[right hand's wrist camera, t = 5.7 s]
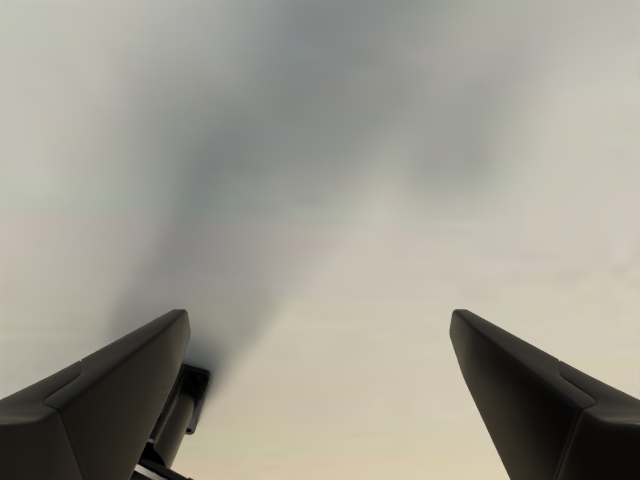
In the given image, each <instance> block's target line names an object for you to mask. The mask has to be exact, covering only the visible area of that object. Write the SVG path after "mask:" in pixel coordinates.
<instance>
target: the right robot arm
mask: <svg viewBox="0 0 640 480" xmlns="http://www.w3.org/2000/svg"><path fill="white" fill-rule="evenodd" d="M189 338H190V324H189V318H188V313H187V311H186V310H184V309H175V310H172V311H170V312H168V313H166V314H164V315H163V316H161V317H159V318H157V319H155V320H153V321H151V322H150V323H148V324H146V325H144V326H142V327H140V328H139V329H137V330H135V331H133V332H131V333H129V334H127V335H126V336H124V337H122V338H120V339H118V340H116V341H115V342H113V343H111V344H109V345H107V346H105V347H104V348H102V349H100V350H98V351H96V352H94V353H92V354H91V355H89V356H87V357H85V358H83V359H82V360H81V361H78V362H76V363H74V364H72V365H70V366H68V367H66V368H65V369H63V370H61V371H59V372H57V373H55V374H53V375H51V376H49V377H47V378H45V379H43V380H41V381H39V382H37V383H35V384H33V385H31V386H29V387H27V388H25V389H22V390H20V391H18V392H16V393H14V394H12V395H10V396H8V397H6V398H4V399H1V400H0V480H193V479H191V478H186V477H184V476H182V475H180V474H178V473H177V472H175V471H173V470H171V469H170V468H171V466H172V464H173V461H174V459H175V456H176V454H177V451H178V449H179V447H180V444H181V442H182V439H183V437H184V434H188V435H190V434H193V433H194V432H195V429H196V426H197V423H198V419H199V415H200V412H201V408H202V405H203V401H204V398H205V394H206V391H207V387H208V383H209V380H210V372H208V371H207V370H204V369H200V368H196V367H193V366H189V365H185V364H181V363H182V360H183V357H184V354H185V350H186V347H187V344H188V341H189ZM450 338H451V341H452V344H453V347H454V350H455V354H456V357H457V360H458V363H459V366H460V369H461V372H462V375H463V377H464V380H465V382H466V384H467V386H468V388H469V391H470V393H471V395H472V397H473V399H474V402H475V404H476V406H477V408H478V410H479V412H480V415H481V417H482V419H483V421H484V423H485V425H486V428H487V430H488V432H489V434H490V436H491V439H492V441H493V443H494V445H495V447H496V449H497V452H498V454H499V456H500V458H501V460H502V462H503V465H504V467H505V469H506V471H507V473H508V476H509V478H510V480H640V400H639V399H636V398H634V397H632V396H630V395H628V394H626V393H624V392H622V391H620V390H618V389H615V388H613V387H611V386H609V385H607V384H605V383H603V382H601V381H599V380H597V379H595V378H593V377H591V376H589V375H587V374H585V373H583V372H581V371H579V370H577V369H575V368H574V367H572V366H570V365H568V364H566V363H564V362H562V361H559V360H558V359H557V358H555V357H553V356H551V355H549V354H548V353H546V352H544V351H542V350H540V349H538V348H537V347H535V346H533V345H531V344H529V343H527V342H525V341H524V340H522V339H520V338H518V337H516V336H514V335H512V334H511V333H509V332H507V331H505V330H503V329H501V328H500V327H498V326H496V325H494V324H492V323H490V322H489V321H487V320H485V319H483V318H481V317H479V316H477V315H476V314H474V313H472V312H470V311H468V310H465V309H456V310H454V311H453V313H452V318H451V324H450ZM202 376H204V377H202Z"/></svg>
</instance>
